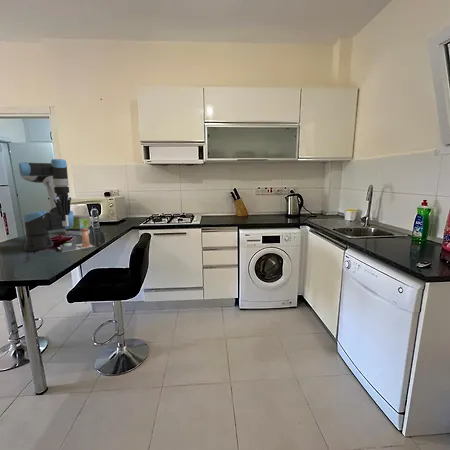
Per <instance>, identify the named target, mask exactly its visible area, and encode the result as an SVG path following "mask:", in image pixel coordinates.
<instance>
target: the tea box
mask: <svg viewBox="0 0 450 450" xmlns="http://www.w3.org/2000/svg"><path fill="white" fill-rule="evenodd" d="M89 219H90V218H89V215H82V214H81V215H78V214H77V215H76V214H73V227H72V228H70V229H64V231H65V233H64V234H65V235H66V236H81V228H88V234H89V235H90V234H91V233H90V232H91V231H90V229H91V228H90V221H89Z"/></svg>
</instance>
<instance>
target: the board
mask: <svg viewBox="0 0 450 450" xmlns="http://www.w3.org/2000/svg"><path fill="white" fill-rule="evenodd" d="M89 244H90V246H88V247H83V245H82V243H79V244H75V245H76V251H77V250H83V249H84V250H85V249H90V248H94V247H96V246H95V245H93V244H91V243H90V242H89ZM57 249H58V250H59V251H61V253H64V252H66V251H64V252H63V251H62V250H61V249H60V246H59V247H58V246H57ZM71 251H72V250H70V252H71Z"/></svg>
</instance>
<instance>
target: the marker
mask: <svg viewBox="0 0 450 450" xmlns="http://www.w3.org/2000/svg"><path fill="white" fill-rule="evenodd" d="M89 235H90V233H89V234H88V228H81V235H80V236H81V244H82V245H83V247H88V246H90V244H91V243H90V236H89ZM89 243H90V244H89Z"/></svg>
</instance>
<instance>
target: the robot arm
mask: <svg viewBox="0 0 450 450" xmlns="http://www.w3.org/2000/svg"><path fill="white" fill-rule="evenodd" d="M50 161H51V162H19V163H18V168H19V170H18V171H19V175H20V177H21V179H22V180H25V181H27V182H30V183H36V184H41V183H43V185H44V186H45V187H46V190H47V195H48V200H49V203H50V204H49V205H50V210H49V212H47V211H46V210H37V211H31V212H28V213H25V214H24V216H23V223H24V229H25V234H26V235H25V237H26V238H25V243H24V251H25V252H38V251H39V250H43V249H44V250H45V249H49V248H52V247H53V246H54V242H53V240H52V238H51V236H50V235H49V232H51V231H58V230H65V229H70V228H72V227H73V215H74V211H72V210H71V203H72V202H71V201H72V197H70V196H69V193H70V187H69V178H68V177H69V175H68V163H67V161H66V159H60V158H52V159H51V160H50Z"/></svg>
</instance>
